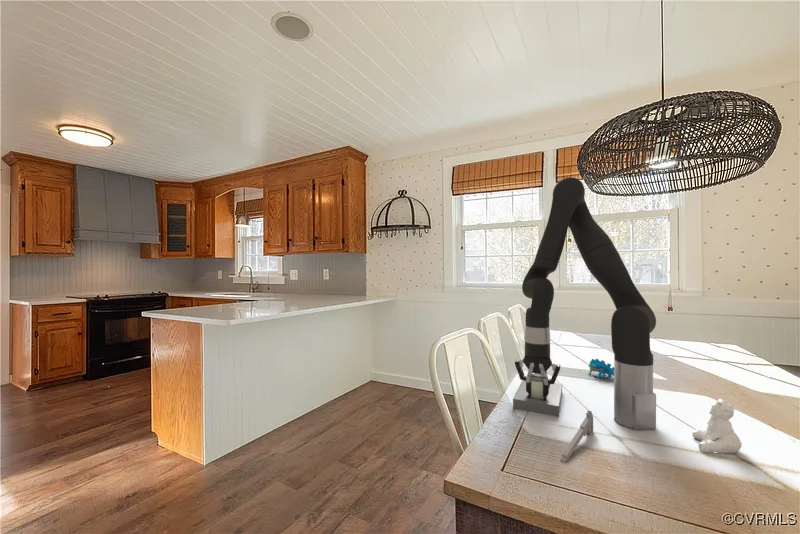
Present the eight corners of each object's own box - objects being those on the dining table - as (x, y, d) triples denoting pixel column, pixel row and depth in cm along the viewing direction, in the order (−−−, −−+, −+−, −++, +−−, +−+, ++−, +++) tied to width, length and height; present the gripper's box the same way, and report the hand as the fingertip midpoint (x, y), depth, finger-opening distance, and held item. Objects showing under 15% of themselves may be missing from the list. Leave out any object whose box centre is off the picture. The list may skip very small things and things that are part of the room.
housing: (558, 416, 105) (558, 389, 105) (512, 408, 111) (512, 382, 111) (562, 392, 125) (562, 369, 125) (523, 386, 131) (523, 364, 131)
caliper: (589, 432, 96) (589, 408, 96) (593, 433, 96) (593, 409, 95) (560, 462, 82) (560, 434, 82) (565, 463, 81) (565, 435, 81)
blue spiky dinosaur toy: (623, 375, 139) (608, 358, 137) (617, 387, 137) (602, 371, 135) (598, 371, 149) (583, 355, 147) (592, 383, 147) (577, 367, 145)
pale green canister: (546, 403, 112) (546, 377, 111) (534, 404, 111) (534, 378, 111) (540, 398, 116) (540, 373, 116) (528, 399, 115) (528, 374, 115)
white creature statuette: (690, 435, 94) (690, 389, 94) (734, 443, 90) (734, 395, 89) (699, 452, 85) (700, 401, 85) (748, 461, 81) (748, 408, 81)
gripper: (562, 340, 113) (562, 394, 113) (515, 336, 120) (515, 387, 120) (561, 345, 107) (561, 403, 107) (511, 340, 113) (511, 395, 113)
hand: (537, 394), depth 113 cm, fingers closed on pale green canister, 4 cm apart
